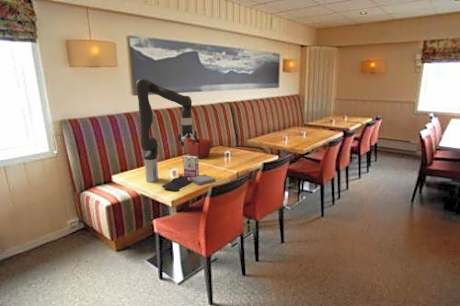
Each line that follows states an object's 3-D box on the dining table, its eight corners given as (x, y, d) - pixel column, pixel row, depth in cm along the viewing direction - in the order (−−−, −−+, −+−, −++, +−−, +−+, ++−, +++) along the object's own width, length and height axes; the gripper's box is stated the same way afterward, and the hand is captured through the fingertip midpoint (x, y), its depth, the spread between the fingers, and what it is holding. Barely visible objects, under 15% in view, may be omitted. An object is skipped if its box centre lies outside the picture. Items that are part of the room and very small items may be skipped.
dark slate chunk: (158, 189, 207) (157, 182, 206) (177, 179, 226) (176, 173, 225) (176, 192, 200) (175, 185, 199) (193, 182, 220) (193, 176, 219)
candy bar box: (199, 176, 231) (198, 156, 227) (196, 178, 227) (195, 157, 223) (187, 175, 236) (186, 155, 232) (183, 176, 231) (182, 156, 227)
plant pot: (199, 154, 306) (198, 138, 302) (213, 156, 294) (212, 140, 290) (185, 157, 291) (184, 141, 287) (199, 160, 279) (198, 143, 276)
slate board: (189, 180, 222) (189, 177, 222) (205, 176, 230) (205, 174, 230) (198, 185, 211) (198, 182, 211) (214, 181, 219) (214, 178, 219)
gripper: (193, 122, 221) (194, 143, 225) (175, 124, 213) (176, 146, 217) (198, 123, 215) (198, 145, 219) (180, 125, 207) (181, 147, 211)
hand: (187, 145), depth 218 cm, fingers open, 8 cm apart
